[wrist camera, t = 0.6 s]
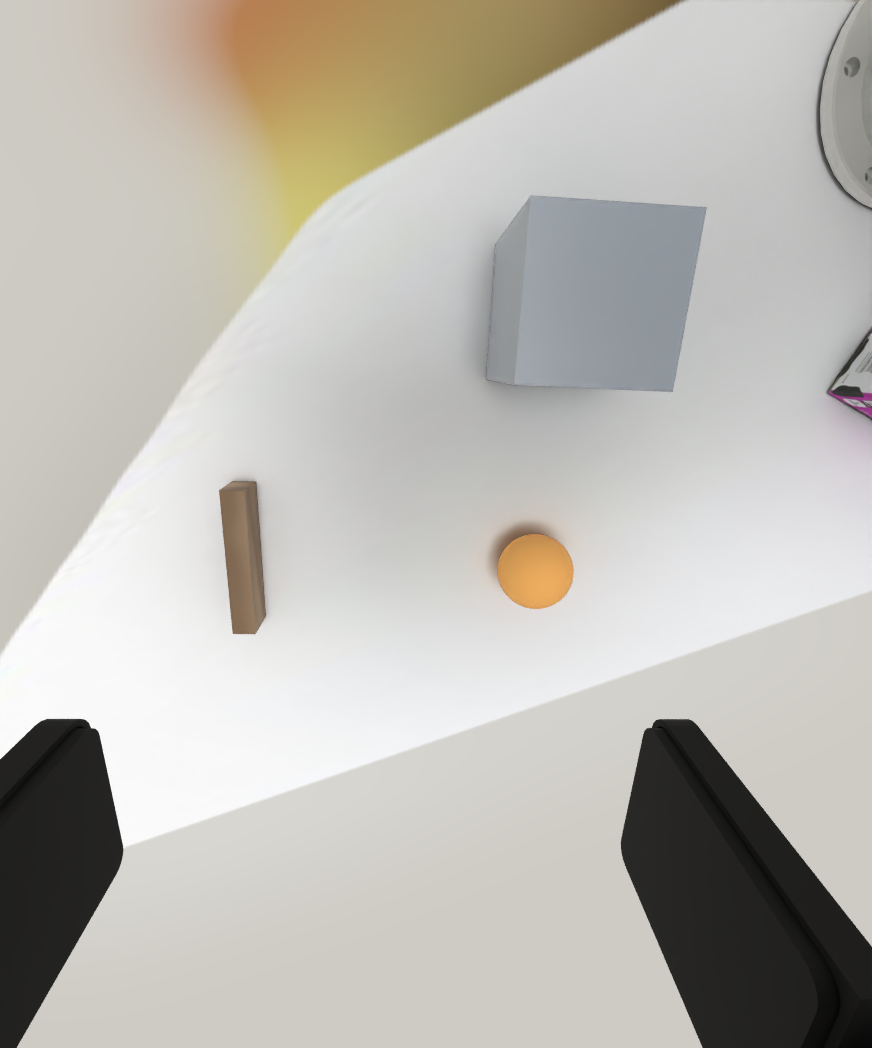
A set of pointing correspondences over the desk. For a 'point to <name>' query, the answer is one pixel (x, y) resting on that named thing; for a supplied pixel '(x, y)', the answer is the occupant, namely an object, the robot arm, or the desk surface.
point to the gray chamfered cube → (592, 294)
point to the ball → (535, 571)
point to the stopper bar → (243, 555)
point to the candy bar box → (857, 380)
